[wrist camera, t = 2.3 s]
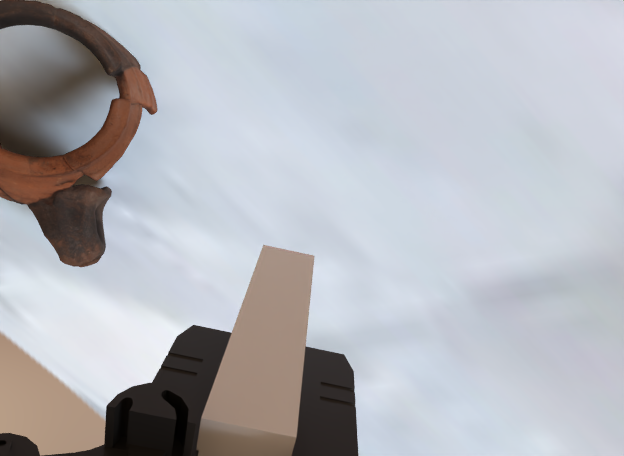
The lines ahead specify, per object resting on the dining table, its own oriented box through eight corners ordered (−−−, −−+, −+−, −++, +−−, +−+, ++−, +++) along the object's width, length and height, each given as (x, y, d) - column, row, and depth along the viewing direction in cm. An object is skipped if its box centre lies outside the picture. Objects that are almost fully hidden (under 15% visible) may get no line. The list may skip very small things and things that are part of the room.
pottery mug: (-53, 75, 24) (-151, -1, 17) (126, 39, 27) (114, -41, 20) (32, 284, 26) (-23, 305, 18) (196, 228, 28) (210, 224, 21)
